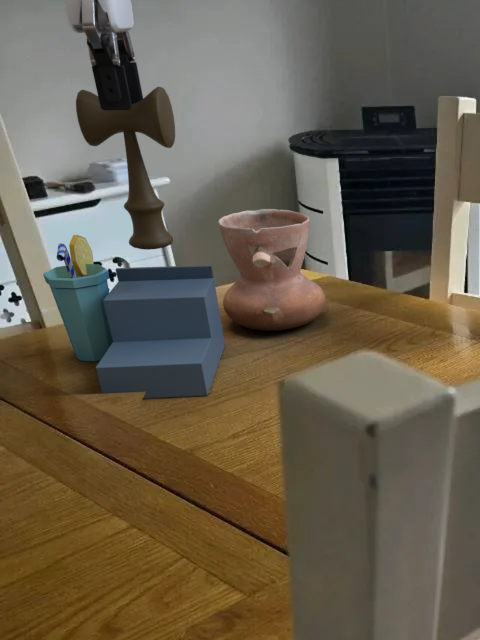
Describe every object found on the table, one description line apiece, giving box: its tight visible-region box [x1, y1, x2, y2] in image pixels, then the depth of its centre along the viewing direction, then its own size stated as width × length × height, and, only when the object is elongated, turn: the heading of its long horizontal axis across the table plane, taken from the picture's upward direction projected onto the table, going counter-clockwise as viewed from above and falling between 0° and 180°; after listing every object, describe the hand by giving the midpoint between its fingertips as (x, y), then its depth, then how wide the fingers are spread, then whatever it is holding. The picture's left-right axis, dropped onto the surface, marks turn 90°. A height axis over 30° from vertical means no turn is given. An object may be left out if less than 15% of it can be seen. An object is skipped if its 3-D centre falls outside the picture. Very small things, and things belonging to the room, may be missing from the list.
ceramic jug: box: [217, 208, 326, 332], centre depth 117 cm, size 18×14×14 cm
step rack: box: [95, 264, 226, 400], centre depth 102 cm, size 12×18×10 cm, turn 6°
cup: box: [42, 234, 113, 362], centre depth 105 cm, size 14×8×15 cm, turn 14°
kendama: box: [75, 86, 176, 250], centre depth 95 cm, size 6×10×20 cm, turn 91°
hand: (123, 105), depth 92 cm, fingers closed on kendama, 5 cm apart
